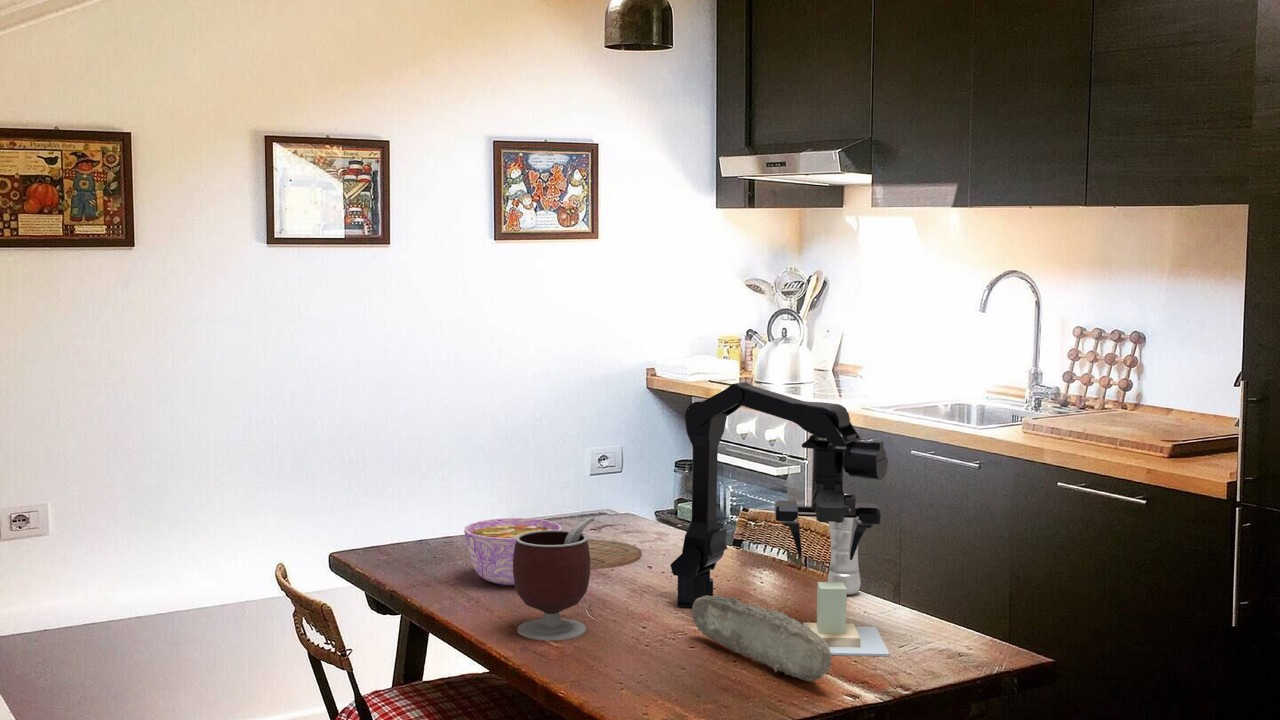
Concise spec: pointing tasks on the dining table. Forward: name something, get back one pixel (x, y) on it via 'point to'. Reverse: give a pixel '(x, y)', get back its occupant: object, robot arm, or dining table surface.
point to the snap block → (831, 607)
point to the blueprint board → (864, 644)
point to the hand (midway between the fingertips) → (825, 558)
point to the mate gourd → (552, 579)
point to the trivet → (612, 554)
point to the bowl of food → (499, 545)
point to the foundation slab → (839, 636)
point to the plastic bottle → (843, 556)
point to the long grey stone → (763, 636)
